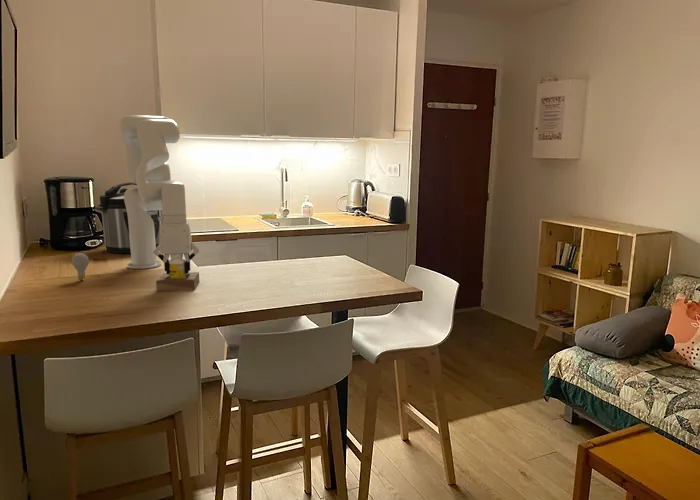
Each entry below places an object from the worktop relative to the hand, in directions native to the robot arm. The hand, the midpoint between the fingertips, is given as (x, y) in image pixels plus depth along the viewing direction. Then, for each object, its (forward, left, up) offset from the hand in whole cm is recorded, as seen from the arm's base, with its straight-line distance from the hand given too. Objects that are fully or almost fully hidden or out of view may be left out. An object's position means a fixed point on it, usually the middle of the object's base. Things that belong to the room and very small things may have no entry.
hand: (177, 272), depth 186 cm
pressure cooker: (-81, -33, -5) cm, 87 cm away
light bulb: (-15, -36, -5) cm, 39 cm away
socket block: (0, 0, -5) cm, 5 cm away
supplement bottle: (0, 0, -3) cm, 3 cm away
